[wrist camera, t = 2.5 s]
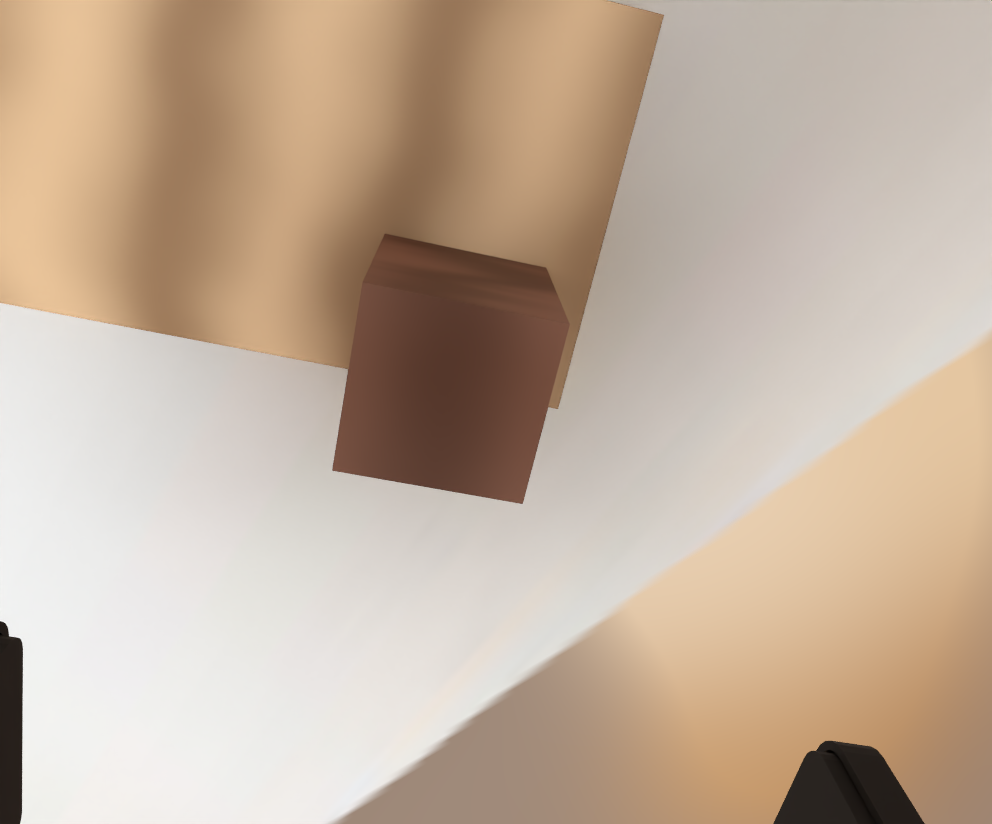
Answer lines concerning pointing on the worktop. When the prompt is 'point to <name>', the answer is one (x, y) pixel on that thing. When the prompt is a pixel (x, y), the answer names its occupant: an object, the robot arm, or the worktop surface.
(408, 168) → the pine board
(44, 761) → the worktop surface
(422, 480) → the brown block
